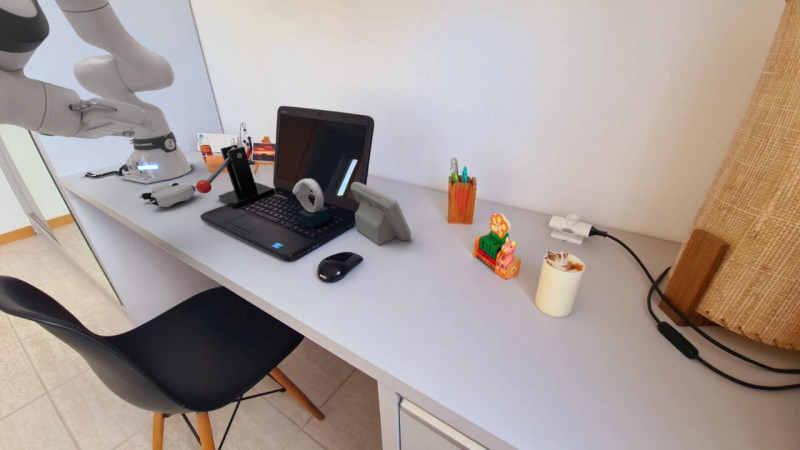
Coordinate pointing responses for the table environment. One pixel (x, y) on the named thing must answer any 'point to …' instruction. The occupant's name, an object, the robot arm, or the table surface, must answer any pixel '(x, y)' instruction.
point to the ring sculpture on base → (311, 213)
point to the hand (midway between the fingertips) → (145, 131)
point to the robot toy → (169, 194)
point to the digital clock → (378, 215)
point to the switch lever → (212, 177)
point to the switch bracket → (242, 179)
